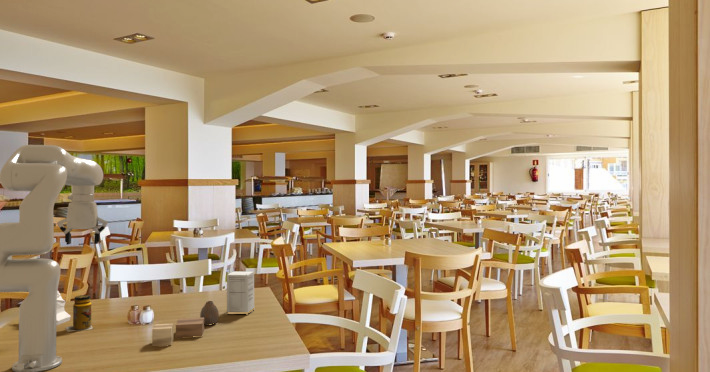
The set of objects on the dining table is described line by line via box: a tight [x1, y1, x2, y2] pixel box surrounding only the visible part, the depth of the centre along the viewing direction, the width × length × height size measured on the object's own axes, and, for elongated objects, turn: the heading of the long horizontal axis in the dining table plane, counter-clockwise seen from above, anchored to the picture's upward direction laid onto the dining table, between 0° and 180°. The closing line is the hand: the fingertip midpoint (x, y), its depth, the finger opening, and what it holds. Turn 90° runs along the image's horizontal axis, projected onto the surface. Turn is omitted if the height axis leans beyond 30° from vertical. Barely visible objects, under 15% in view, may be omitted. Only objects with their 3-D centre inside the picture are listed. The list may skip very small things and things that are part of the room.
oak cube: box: [151, 323, 174, 347], centre depth 177 cm, size 6×6×6 cm
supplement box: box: [226, 270, 255, 313], centre depth 221 cm, size 10×9×17 cm
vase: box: [199, 300, 220, 324], centre depth 202 cm, size 7×7×9 cm
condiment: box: [65, 294, 94, 333], centre depth 195 cm, size 7×8×12 cm
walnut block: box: [175, 317, 205, 339], centre depth 188 cm, size 9×9×5 cm
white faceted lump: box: [56, 290, 72, 326], centre depth 204 cm, size 12×15×14 cm
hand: (82, 243), depth 198 cm, fingers open, 9 cm apart
